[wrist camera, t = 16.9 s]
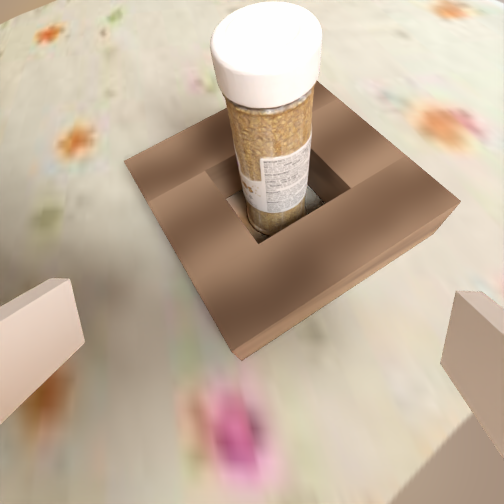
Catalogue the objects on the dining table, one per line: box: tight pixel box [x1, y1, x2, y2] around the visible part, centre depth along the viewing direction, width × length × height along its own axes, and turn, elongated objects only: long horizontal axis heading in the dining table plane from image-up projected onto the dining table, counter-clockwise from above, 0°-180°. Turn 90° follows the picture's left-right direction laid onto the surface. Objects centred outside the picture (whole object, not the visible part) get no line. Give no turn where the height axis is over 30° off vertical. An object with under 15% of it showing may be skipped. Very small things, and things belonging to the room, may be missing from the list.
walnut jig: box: [124, 81, 461, 361], centre depth 23 cm, size 16×16×4 cm
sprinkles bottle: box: [210, 1, 322, 236], centre depth 18 cm, size 5×5×14 cm
